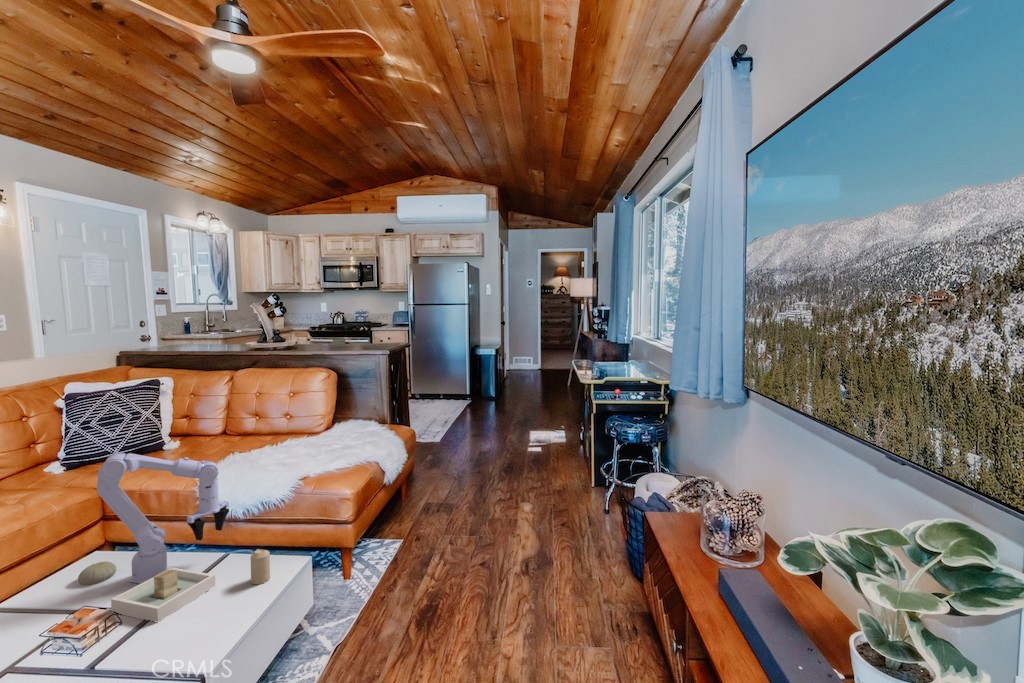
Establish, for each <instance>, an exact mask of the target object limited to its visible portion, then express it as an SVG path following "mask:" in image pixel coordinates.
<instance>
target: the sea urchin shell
mask: <svg viewBox="0 0 1024 683" xmlns="http://www.w3.org/2000/svg"><path fill="white" fill-rule="evenodd" d="M116 571H117V566H116V565H115V563H113V562H112V561H100V562H96V563H92V564H90V565H88V566H87V567H86V568H84V569H83V570H81V572H80V573H79V575H78V577H77V581H78V583H79V584H81V585H94V584H99V583H101V582H103V581H105V580H108V579H110V578H111V577H112V576H114V575H115V574H116V573H117V572H116Z"/></svg>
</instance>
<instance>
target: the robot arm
mask: <svg viewBox="0 0 1024 683" xmlns="http://www.w3.org/2000/svg"><path fill="white" fill-rule="evenodd" d="M141 469H146V470H155V471H163V472H164V471H166V472H171V474H172V475H173V476H175V477H183V478H189V479H197V478H198V483H199V484H198V510H197V511H195V512H194V513H193V514H191V515H189V516H187V517H186V523H187V525H188V526H189V527H190V529H191V530H192V532H193V534H194V538H195V540H196V541H203V539H204V538H203V537H204V526H205V523H206V520H202V519H203V518H205V517H207V516H209V515H211V514H213V517H214V525H215V526H214V527H215V528H214V529H215V530H216V531H222V530H223V527H224V523H225V520H226V517H227V516H228V514H229V512H230V509H229V507H230V502H229V501H225V500H224V501H221V502H219V482H218V475H219V470H218V465H217V464H216V462H214V461H211V460H201V461H200V460H192V459H190V457H186V456H185V457H184V458H178V459H176V460H168V459H163V458H157V457H153V456H148V455H147V456H146V455H141V454H136V453H130V452H129V453H124V452H115V453H112V454H110V455H109V456H108V457H107V458H106V460H105V461H104V462H103V464H101V466H100V468H99V470H98V472H97V475H96V476H97V480H96V481H97V483H96V492H97V494H98V496H99V497H100V498H101V499H102V500H103V502H104V503H105V504H106V505H107V506H108V507H109V508H110V509H111V511H112V512H113V513H114V514H115V515H116V516H117V517H118V518H119V520H120V521H121V522H122V523H123V525H125V527H126V528H127V529H128V530H129V531H130V532H131V533H132V535H133V537H134V540H135V543H137V545H138V550H139V551H137V552H136V553H134V555H133V556H132V559H131V579H129V581H128V582H130V583H133V584H138V585H139V584H141V583H143V582H145V581H147V580H149V579H151V578H153V577H154V576H156V575H158V574H160V573H162V572H163V571H165V570H168V558H167V557H168V556H167V555H168V554H167V553H168V552H167V551H168V550H167V549H168V548H167V545H166V544H165V543H164V541H165V538H166V530H165V529H164V528H163V527H159V526H157V525H156V524H155V523H154V522H152V521H150V520H149V519H148V518H147V517H146V516H145V515H144V513H143V512H142V511H141V510H140V509H139V508H138V506H137V505H136V504H135V502H133V500H132V499H131V498H130V497H129V495H128V494H127V493H126V492H125V491H124V490H123V489H122V487H121V486H120V483H121V479H122V477H123V476H124V475H125V474H126V472H127V471H128V473H129V474H130V473H133V472H135V471H137V470H141Z"/></svg>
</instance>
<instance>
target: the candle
mask: <svg viewBox="0 0 1024 683" xmlns="http://www.w3.org/2000/svg"><path fill="white" fill-rule="evenodd" d="M270 553H271V552H270V551H269V550H267V549H262V548H258V549H256V550H255V551H254V552H252V554H251V555H250V582H251V584H252V583H253V584H252V585H255V584H257V585H262V584H264V582H265V583H267V582H268V581H269V580H270V579H271V560H270V559H271V557H270V556H271V555H270ZM266 581H267V582H266ZM261 583H262V584H261Z"/></svg>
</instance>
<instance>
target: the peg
mask: <svg viewBox="0 0 1024 683" xmlns="http://www.w3.org/2000/svg"><path fill="white" fill-rule="evenodd" d="M176 592H177V571H172V570H168V569H167V570H165V571H163V572H162V573H160V574H158V575H156V576H154V598H155V599H160V600H164V599H166V598H168V597H169V596H171V595H173V594H174V593H176Z"/></svg>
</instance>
